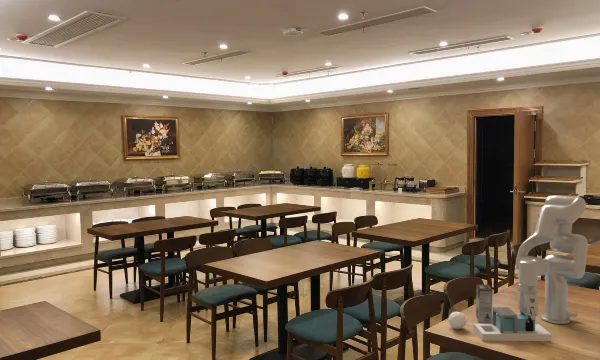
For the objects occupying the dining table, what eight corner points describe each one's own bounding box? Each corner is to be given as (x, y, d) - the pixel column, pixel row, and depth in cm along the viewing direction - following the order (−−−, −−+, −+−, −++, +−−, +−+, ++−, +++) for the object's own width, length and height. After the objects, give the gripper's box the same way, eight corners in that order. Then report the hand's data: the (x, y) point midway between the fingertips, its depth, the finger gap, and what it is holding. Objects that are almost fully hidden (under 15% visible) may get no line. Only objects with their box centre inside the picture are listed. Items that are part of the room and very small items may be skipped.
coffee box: (475, 315, 240) (475, 283, 238) (489, 316, 238) (489, 284, 237) (478, 322, 231) (478, 289, 229) (492, 323, 229) (493, 289, 228)
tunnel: (508, 324, 219) (508, 307, 219) (517, 333, 209) (517, 315, 208) (492, 324, 220) (492, 307, 219) (500, 333, 209) (500, 315, 209)
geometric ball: (459, 335, 221) (461, 326, 216) (444, 325, 226) (445, 316, 221) (468, 324, 225) (470, 314, 220) (453, 315, 230) (454, 305, 225)
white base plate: (538, 330, 219) (538, 324, 219) (550, 341, 207) (551, 334, 207) (473, 330, 221) (473, 323, 221) (482, 340, 209) (482, 333, 209)
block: (530, 326, 216) (530, 314, 216) (535, 331, 211) (535, 318, 211) (496, 326, 217) (496, 314, 216) (500, 330, 212) (500, 318, 211)
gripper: (545, 294, 204) (544, 336, 205) (528, 282, 221) (527, 321, 222) (526, 294, 204) (526, 336, 205) (511, 282, 221) (510, 321, 222)
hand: (526, 328), depth 214 cm, fingers closed on block, 5 cm apart
